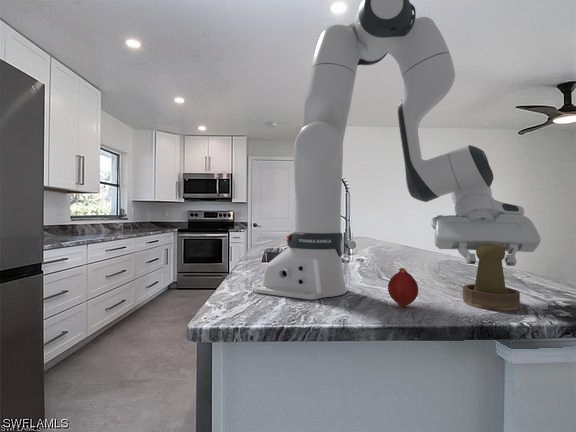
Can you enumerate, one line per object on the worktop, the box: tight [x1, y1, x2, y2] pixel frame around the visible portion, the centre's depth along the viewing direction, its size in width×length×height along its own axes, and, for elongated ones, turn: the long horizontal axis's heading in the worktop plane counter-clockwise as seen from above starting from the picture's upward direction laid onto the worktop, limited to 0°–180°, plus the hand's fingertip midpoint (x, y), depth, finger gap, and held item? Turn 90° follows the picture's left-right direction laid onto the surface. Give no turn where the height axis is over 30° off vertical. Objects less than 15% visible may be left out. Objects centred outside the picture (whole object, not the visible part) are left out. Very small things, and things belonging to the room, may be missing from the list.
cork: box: [474, 244, 506, 294], centre depth 68 cm, size 6×6×11 cm
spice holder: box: [462, 283, 521, 312], centre depth 68 cm, size 10×10×3 cm
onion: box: [387, 267, 419, 308], centre depth 66 cm, size 6×6×8 cm
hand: (491, 263), depth 68 cm, fingers open, 6 cm apart
